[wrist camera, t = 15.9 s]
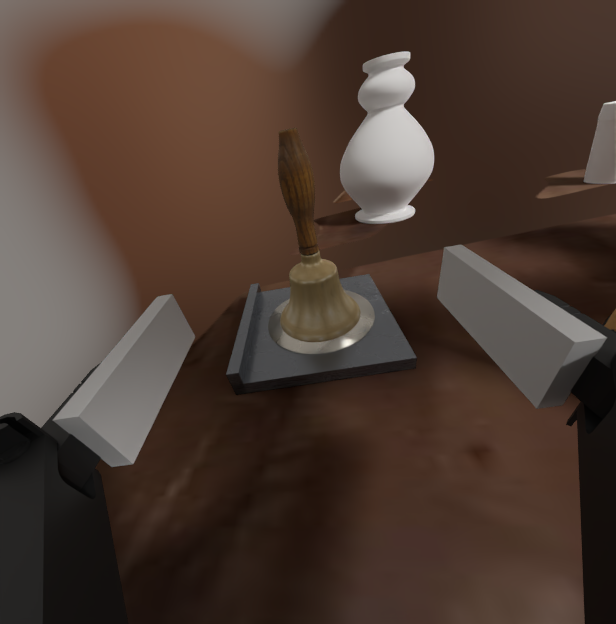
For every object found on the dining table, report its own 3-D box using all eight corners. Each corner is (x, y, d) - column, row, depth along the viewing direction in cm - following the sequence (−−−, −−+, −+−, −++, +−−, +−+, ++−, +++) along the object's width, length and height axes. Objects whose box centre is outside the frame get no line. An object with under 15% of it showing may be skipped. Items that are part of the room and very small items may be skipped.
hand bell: (361, 341, 22) (349, 114, 13) (271, 343, 24) (208, 142, 15) (360, 292, 29) (351, 118, 20) (289, 296, 31) (253, 137, 22)
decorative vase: (328, 219, 60) (313, 78, 46) (385, 200, 66) (387, 70, 52) (381, 234, 47) (383, 41, 33) (448, 209, 52) (473, 36, 38)
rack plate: (369, 282, 33) (368, 264, 32) (415, 368, 21) (418, 345, 19) (256, 300, 34) (251, 284, 32) (236, 394, 21) (226, 374, 20)
